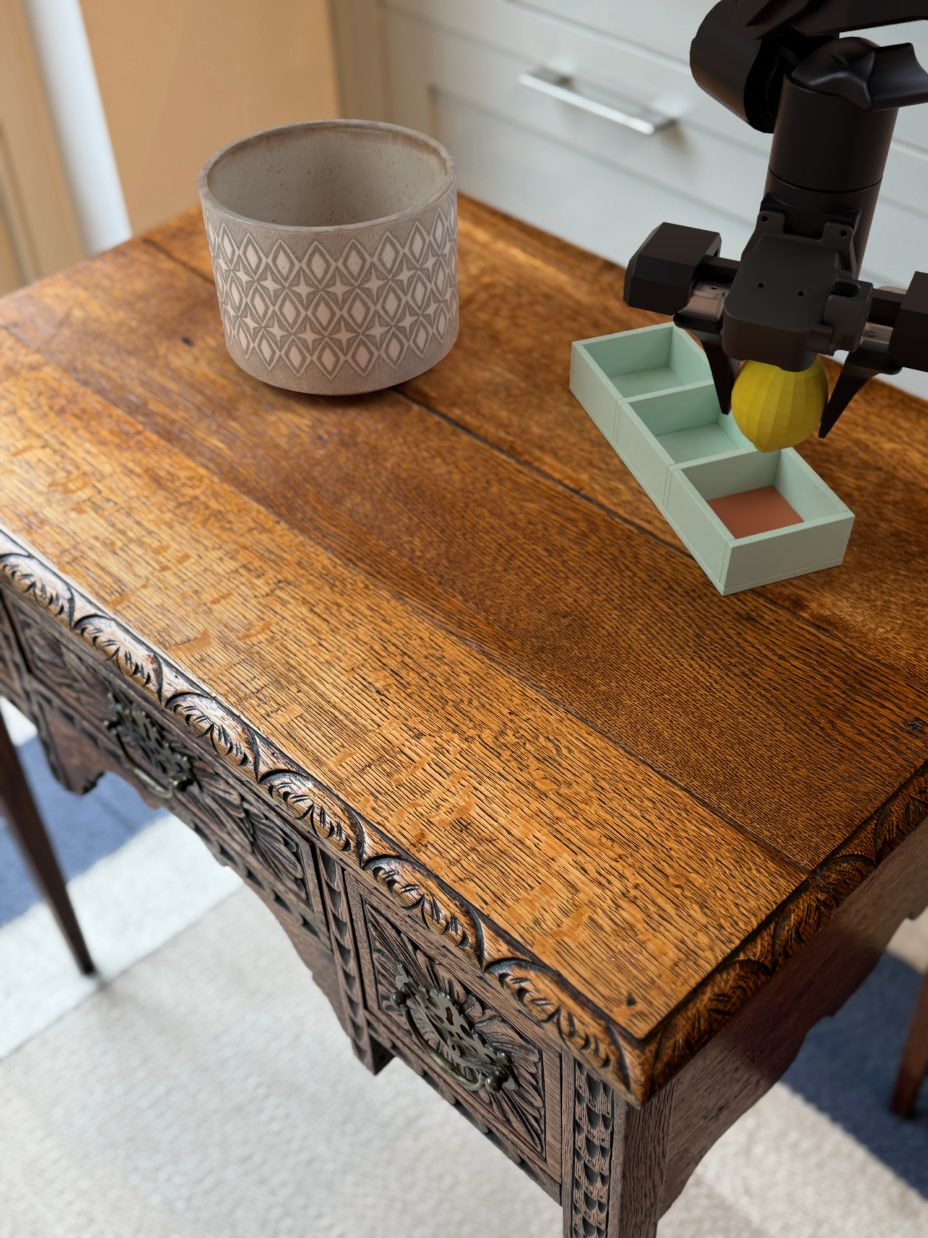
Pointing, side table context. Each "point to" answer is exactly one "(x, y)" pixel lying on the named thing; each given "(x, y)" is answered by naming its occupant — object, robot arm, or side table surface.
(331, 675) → the side table surface
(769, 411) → the fruit
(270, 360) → the planter
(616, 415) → the compartment tray
